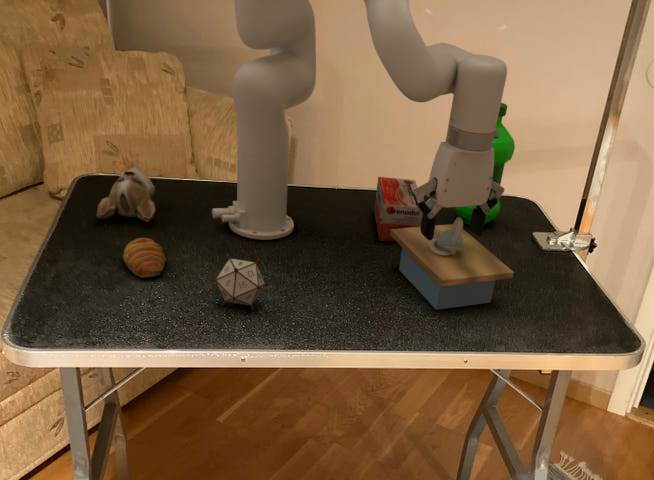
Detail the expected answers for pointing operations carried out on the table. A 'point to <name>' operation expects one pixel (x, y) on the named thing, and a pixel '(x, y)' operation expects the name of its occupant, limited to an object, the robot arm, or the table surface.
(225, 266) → the game die
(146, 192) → the ceramic sculpture
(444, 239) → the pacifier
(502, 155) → the plastic bottle
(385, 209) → the medicine box
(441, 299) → the blue box
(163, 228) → the table surface
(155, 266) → the pastry
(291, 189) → the table surface
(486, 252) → the board
